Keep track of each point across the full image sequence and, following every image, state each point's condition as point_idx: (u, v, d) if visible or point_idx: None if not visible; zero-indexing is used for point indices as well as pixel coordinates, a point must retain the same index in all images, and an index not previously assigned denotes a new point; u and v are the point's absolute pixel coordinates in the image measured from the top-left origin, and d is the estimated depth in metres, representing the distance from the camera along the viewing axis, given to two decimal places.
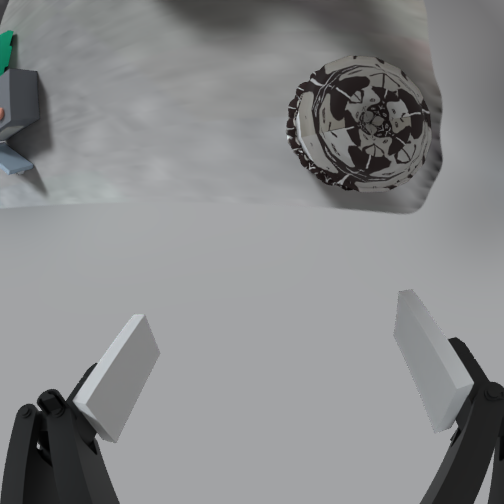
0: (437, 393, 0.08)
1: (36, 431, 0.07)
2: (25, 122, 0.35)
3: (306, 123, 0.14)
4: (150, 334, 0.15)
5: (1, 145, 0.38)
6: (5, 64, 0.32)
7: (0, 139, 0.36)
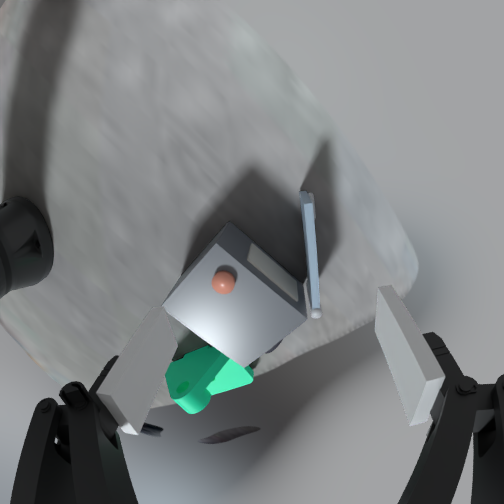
0: (411, 386, 0.09)
1: (55, 427, 0.08)
2: (238, 237, 0.32)
3: None
4: (169, 327, 0.15)
5: (308, 284, 0.34)
6: (205, 349, 0.40)
7: (293, 284, 0.33)
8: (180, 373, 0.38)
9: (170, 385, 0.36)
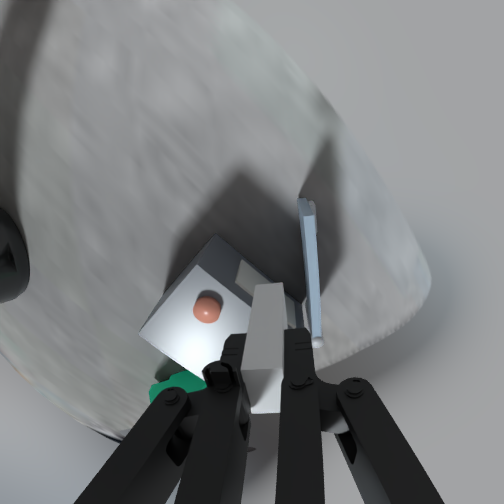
0: None
1: (176, 425, 0.08)
2: (225, 253, 0.27)
3: None
4: None
5: (307, 305, 0.29)
6: None
7: (290, 307, 0.28)
8: None
9: None
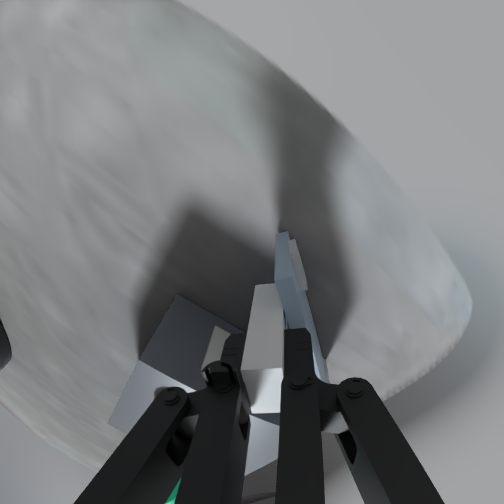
0: None
1: (176, 425, 0.08)
2: (189, 323, 0.19)
3: None
4: None
5: None
6: None
7: None
8: None
9: None
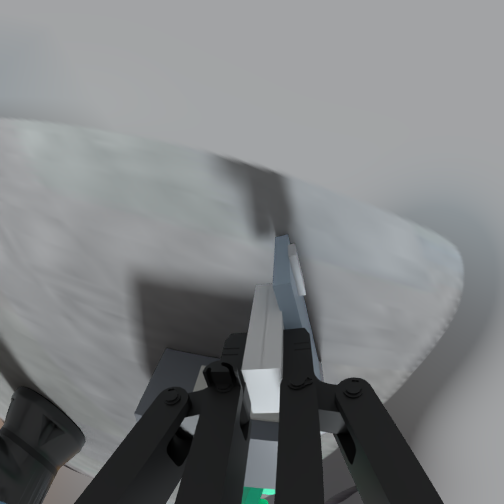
0: None
1: (176, 425, 0.08)
2: (177, 371, 0.21)
3: None
4: None
5: None
6: None
7: None
8: None
9: None
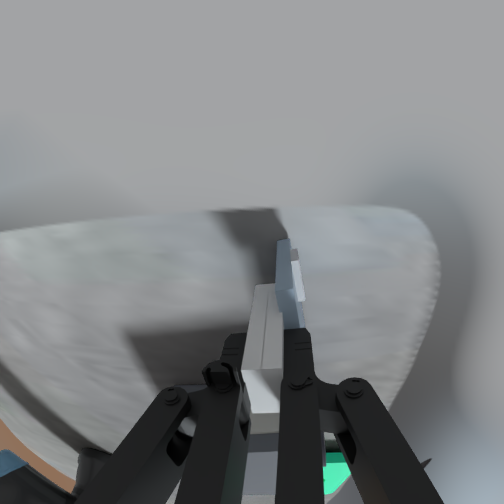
0: None
1: (176, 425, 0.08)
2: None
3: None
4: None
5: None
6: None
7: None
8: None
9: None
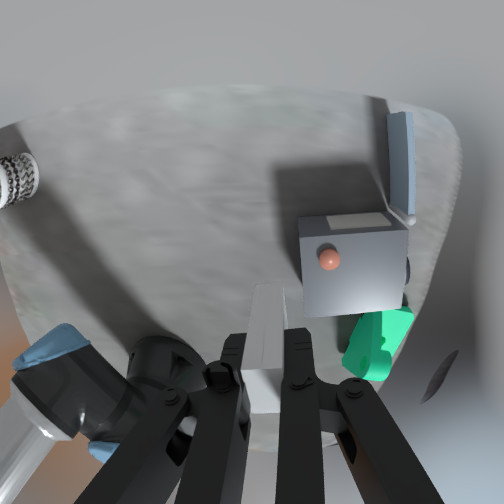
0: None
1: (176, 425, 0.08)
2: (312, 221, 0.34)
3: None
4: None
5: (393, 201, 0.33)
6: (360, 321, 0.41)
7: (379, 216, 0.32)
8: (354, 355, 0.39)
9: (354, 371, 0.37)
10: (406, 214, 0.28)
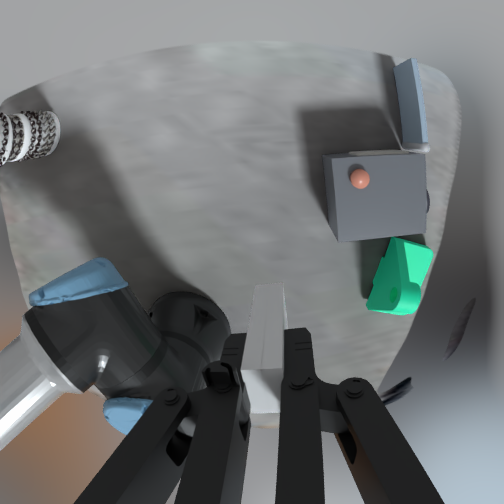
0: None
1: (176, 425, 0.08)
2: None
3: None
4: None
5: (406, 139, 0.34)
6: (383, 260, 0.41)
7: (396, 150, 0.33)
8: (381, 293, 0.39)
9: (383, 307, 0.38)
10: (421, 143, 0.30)
